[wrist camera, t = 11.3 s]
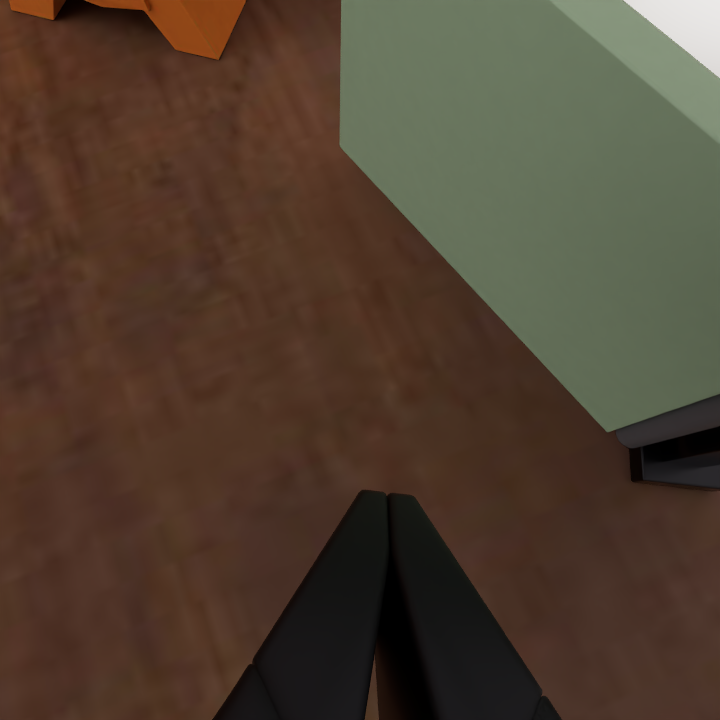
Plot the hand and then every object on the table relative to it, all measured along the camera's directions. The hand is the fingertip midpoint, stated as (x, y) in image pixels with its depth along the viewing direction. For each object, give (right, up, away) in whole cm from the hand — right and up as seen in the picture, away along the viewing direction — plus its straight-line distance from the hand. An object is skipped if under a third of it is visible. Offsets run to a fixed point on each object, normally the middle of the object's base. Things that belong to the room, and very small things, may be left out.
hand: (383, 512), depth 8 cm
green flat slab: (+5, +6, +11) cm, 14 cm away
